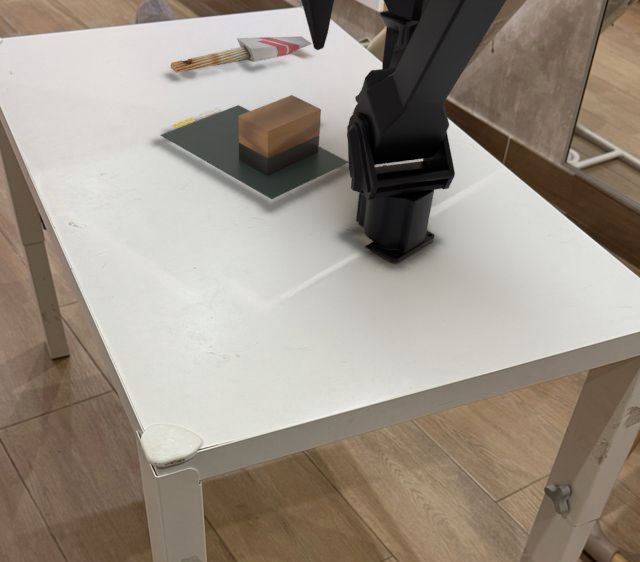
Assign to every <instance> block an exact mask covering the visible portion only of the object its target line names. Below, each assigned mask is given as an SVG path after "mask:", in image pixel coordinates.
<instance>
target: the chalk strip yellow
mask: <svg viewBox="0 0 640 562" xmlns="http://www.w3.org/2000/svg"><path fill="white" fill-rule="evenodd" d="M196 121H197V120H196V119H194V117H193V118H192V117H191V118H187V119H185V120H183V121H179V122H177V123H174V124H171V127H173V128H175V129H177V128H180V127H183V126H185V125H188V124H190V123H193V122H196Z"/></svg>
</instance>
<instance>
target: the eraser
mask: <svg viewBox="0 0 640 562" xmlns="http://www.w3.org/2000/svg"><path fill="white" fill-rule="evenodd" d="M321 116H322V108H319V107H318V106H315V105H313V104H311V103H309V102H307V101H305V100H303V99H301V98H299V97H297V96H295V95H293V94H290V95H288V96H285V97H282V98H281V99H278V100H275V101H272V102H270V103H268V104H265V105H263V106H260V107H257V108H255V109H252V110H249V112H247V113H244V114H242V115H239V160H240V161H242V162H244V163H246V164H248V165H249V166H251V167H253V168H255V169H256V170H258V171H260V172H262V173H264V174H265V175H270V174H272V173H274V172H276V171H278V170H280V169H283V168H285V167H287V166H289V165H291V164H294V163H296V162H298V161H300V160H302V159H305V158H307V157H309V156H311V155H313V154H316V153H318V149H319V147H320V134H321V133H320V132H321V120H322V119H321V118H322V117H321Z"/></svg>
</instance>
